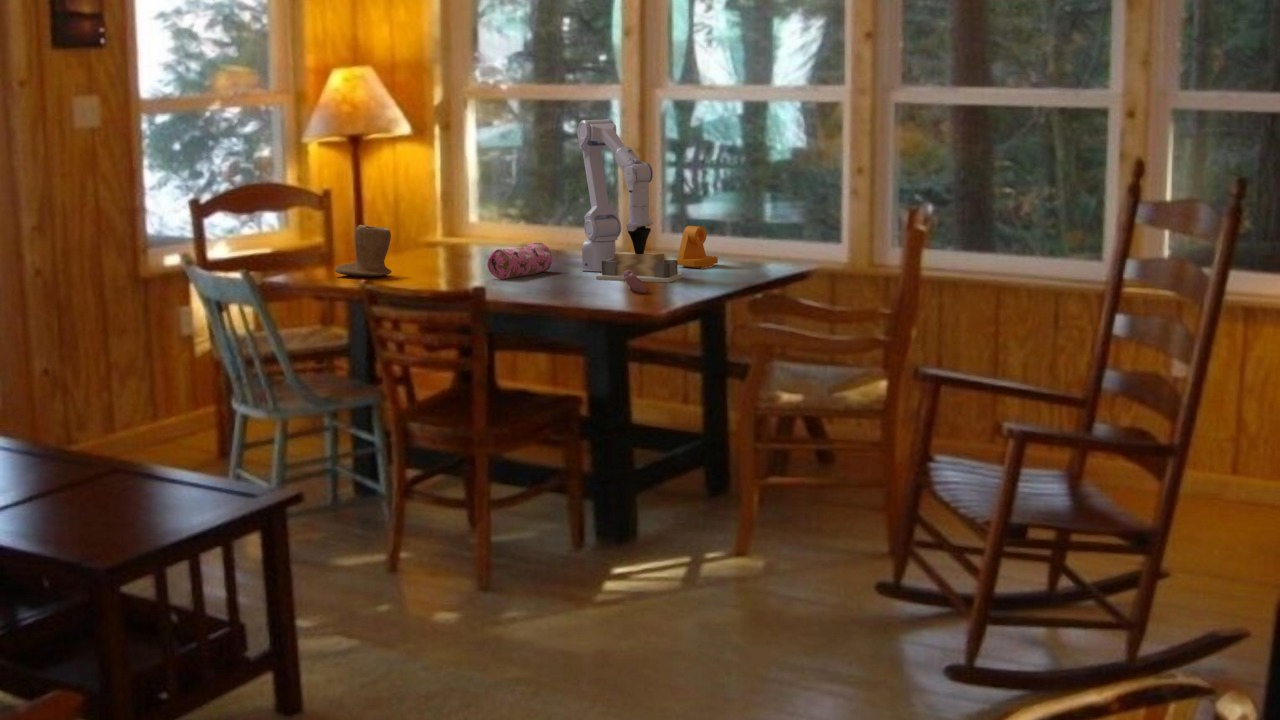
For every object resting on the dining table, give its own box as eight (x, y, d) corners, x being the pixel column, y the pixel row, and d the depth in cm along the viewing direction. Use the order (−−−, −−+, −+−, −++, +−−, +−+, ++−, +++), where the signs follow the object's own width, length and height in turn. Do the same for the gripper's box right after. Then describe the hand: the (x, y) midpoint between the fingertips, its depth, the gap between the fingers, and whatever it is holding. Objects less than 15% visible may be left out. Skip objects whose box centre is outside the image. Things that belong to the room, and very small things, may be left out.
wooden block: (614, 274, 494) (613, 253, 493) (618, 272, 497) (618, 252, 496) (660, 276, 489) (660, 255, 488) (664, 274, 492) (664, 253, 491)
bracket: (696, 269, 510) (695, 229, 507) (677, 267, 514) (677, 227, 512) (719, 265, 518) (718, 225, 515) (700, 263, 522) (700, 224, 520)
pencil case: (529, 270, 513) (528, 240, 512) (554, 272, 508) (554, 242, 507) (485, 279, 495) (484, 248, 494) (511, 281, 491) (510, 250, 489)
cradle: (596, 279, 492) (595, 261, 491) (611, 273, 503) (611, 256, 502) (668, 282, 484) (668, 264, 483) (683, 276, 495) (683, 259, 494)
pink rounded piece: (630, 294, 474) (618, 271, 473) (644, 286, 474) (633, 263, 473) (633, 299, 465) (621, 276, 463) (648, 291, 465) (636, 268, 463)
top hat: (400, 274, 506) (399, 223, 503) (377, 280, 496) (374, 228, 493) (358, 272, 513) (356, 221, 510) (334, 277, 502) (331, 225, 499)
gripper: (643, 208, 481) (643, 257, 484) (661, 203, 495) (661, 251, 497) (619, 208, 484) (620, 256, 486) (638, 203, 497) (638, 250, 500)
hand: (639, 253), depth 492 cm, fingers closed, pressing on wooden block
